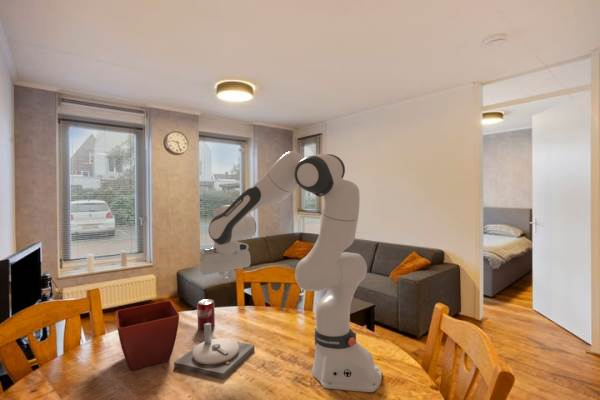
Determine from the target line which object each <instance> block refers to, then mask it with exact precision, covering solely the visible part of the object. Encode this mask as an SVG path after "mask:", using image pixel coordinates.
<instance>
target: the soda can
mask: <svg viewBox="0 0 600 400" xmlns="http://www.w3.org/2000/svg"><path fill="white" fill-rule="evenodd" d="M196 306H197V307H196V309H197V311H196V312H197V330H198V331H199V332H203V333H204V324H206V323H211V331H212V330H213V329H214V328H215V326H216V325H215V324H216V322H215V321H216V319H215V318H216V317H215V315H216V312H215V300H213V299H210V298H208V299H201V300H199V301H198V302H197V305H196Z"/></svg>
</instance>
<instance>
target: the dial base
mask: <svg viewBox="0 0 600 400" xmlns="http://www.w3.org/2000/svg"><path fill="white" fill-rule="evenodd" d="M211 338H212V339H216V338H217V337H212V336H211ZM236 342H237V343H238V345H239V352H238V354H237V355H236V356H235V357H234V358H232V359H230V360H227V361H225V362H223V363H219V364H210V365H209V364H201V363H198V362H196V361H195V360H194V359H193V350H194V348H193V349H191V350H190V351H189V352H187V353H186V354H184V355H183V356H181V357H180V358H178V359H177V360H175V361H173V367H174V369H176V370H180V371H185V372H189V373H192V374H193V373H194V374H197V375H202V376H206V377H209V378H215V379H219V380H223V381H224V380H225V379H226V378H227V377H228V376H230V374H231V373H233V371H234V370H236V369H237V368H238V366H240V365H241V364H242V363H243V362H244V361H245V360H246V359H247V358H248V357H249V356H251V354H252V353H253V352H254V351H255V344H252V343H251V344H250V343H246V342H245V343H244V342H241V341H236Z"/></svg>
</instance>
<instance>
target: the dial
mask: <svg viewBox="0 0 600 400" xmlns="http://www.w3.org/2000/svg"><path fill="white" fill-rule="evenodd" d="M211 337H212V330H211V323H206V324H204V332H203V339H204V340H203V341H202V342H201V343H199V344H197V345H196V346H195V347H194V348H193V349H194V350H193V349H192V350H193V359H194V360H195V361H196V362H198V363H201V364H209V365H210V364H219V363H223V362H225V361H227V360H230V359H232V358H234V357H235V356H236V355H237V354H238V352H239V345H238V343H237V342H238V341H236V340H235V339H232V338H228V337H227V338H226V337H219V338H218V337H215V338H216V339H212V338H211Z"/></svg>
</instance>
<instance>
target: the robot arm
mask: <svg viewBox="0 0 600 400" xmlns="http://www.w3.org/2000/svg"><path fill="white" fill-rule="evenodd" d="M345 173H346V166H345V164H344V162H343V160H342V159H341V158H340V157H338V156H337V155H334V154H329V153H328V154H327V153H326V154H325V153H324V154H323V153H318V154H314V155H309V156H308V155H307V156H306V157H305V156H304V155H303V154H301V153H299V152H297V151H295V150H294V151H290V150H289V151H287V152H285V154H283V155H282V156H281V157H280V158H278V159H277V161H275V162H274V164H272V166H270V167H269V169H268V170H266V172H265V173H264V175H263V176H261V177H260V178H259V179H258V181H256V182H255V183H253V185H251V186H250V187H249V188H247V189H246V190H245V191H244V192H242V193H241V195H239V196H238V197H237V198H236V199H235V200H234V201H233V202H232V203H231V204H230V205H229V204H227V205H220V206H218V207H216V208H215V209H214V213H213V218H212V219H211V221H210V223H209V226H208V234H209V237H210V239H211V240H212V241H213V247H212V248H209V249H208V248H205V249H203V250H202V251H200V253H199V272H200V273H201V274H202V275H211V274H216V273H218V274H219V276H220V277H221V282H222V283H229V282H231V281H232V280H231V279H232V278H231V277H233V274H234V270H239V269H243V268H245V269H246V268H249V267H250V266H251V262H252V261H251V254H250V253H251V252H250V251H249V244H248V243H244V242H241V241H243V240H244V241H245V240H248V239H251V238H253V236H254V235H255V234H256V232H257V222H256V220H255V219H254V217H253V216H252V214H251V215H250V213H252V212H253V211H255V210H257V209H260V208H264V207H269V206H272V205H278V204H279V203H282V202H283V201H285V200H286V199H288V197H290V196H291V194H292V193H294V191H295V190H296V189H297V188H298V187H300V188H301V189H302V190H304V191H306V192H309V193H311V194H313V195H315V196H316V197H323V200H324V201H323V210H322V216H321V217H322V218H321V224H320V229H319V233H318V237H317V239H316V241H315V243H314V245H313V247H312V248H311V250H310V251H309V252H308V253H307V254H306V256H304V257H303V258H301V259H300V260H299V261H298V262H297V264H296V267H295V270H294V276H295V280H296V283H297V285H298V287H300V289H301V290H304V291H306V292H307V291H309V292H310V291H311V292H321V291H326V290H327V291H326V292H325V294H324V296H323V297H322V298H321V299H320V300H319V301H318V302H317V304H316V306H315V328H314V345H315V353H314V361H313V364H312V368H311V374H312V376H313V377H314V378H315V379H316V380H318V382H320V384H321V387H323V388H324V389H329V390H341V391H343V390H344V391H350V392H351V391H353V392H364V393H373V392H375V391H377V390H378V389H379V387H380V386H381V383H382V378H383V374H382V370H381V368H380V367H379V366H378V365H377V364H375V363H374V358H373V355H372V353H371V352H370V351H369V350H367V349H366V348H365V347H364V346H363V345H361V344H360V343H359V342H358V341H357V331H356V330H355V331H353V330H352V329H351V325H350V322H351V319H350V318H351V307H352V306H351V304H352V301H353V299H354V295H355V292H356V290H357V289H358V287H359V285H360V283H362V281H363V280H364V279H365V278H366V276H367V273H368V264H367V262H366V260H365V258H364V257H363V256H362V255H361V254H360V253H356V252H349V251H347V252H346V251H345V250H348V248H350V247H351V245H353V243H354V242H355V238H356V232H357V226H358V221H359V214H360V202H361V201H360V198H361V197H360V189H359V187H358V186H357V185H356V184H355V182H353V181H350V180H348V179H344V177H345ZM225 272H228V273H227V276H225Z"/></svg>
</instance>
